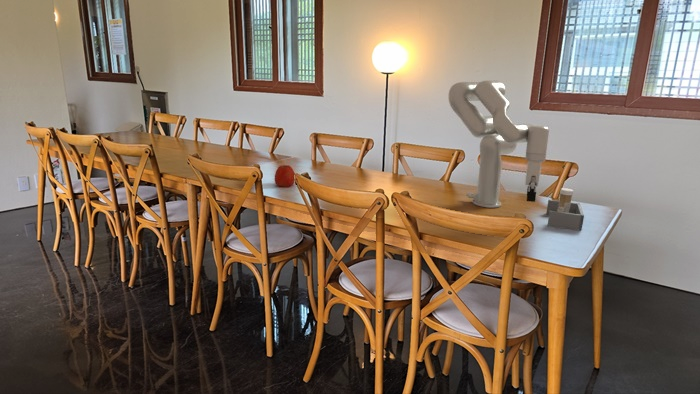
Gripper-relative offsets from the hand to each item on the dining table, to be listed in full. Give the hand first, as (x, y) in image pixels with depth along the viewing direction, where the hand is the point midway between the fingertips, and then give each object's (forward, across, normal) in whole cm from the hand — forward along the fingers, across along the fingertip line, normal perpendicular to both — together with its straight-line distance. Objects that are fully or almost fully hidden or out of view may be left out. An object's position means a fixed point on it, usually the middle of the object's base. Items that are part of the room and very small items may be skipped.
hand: (530, 198), depth 182 cm
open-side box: (+8, -1, +13) cm, 15 cm away
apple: (+5, +2, -114) cm, 114 cm away
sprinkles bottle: (+9, -1, +12) cm, 15 cm away
